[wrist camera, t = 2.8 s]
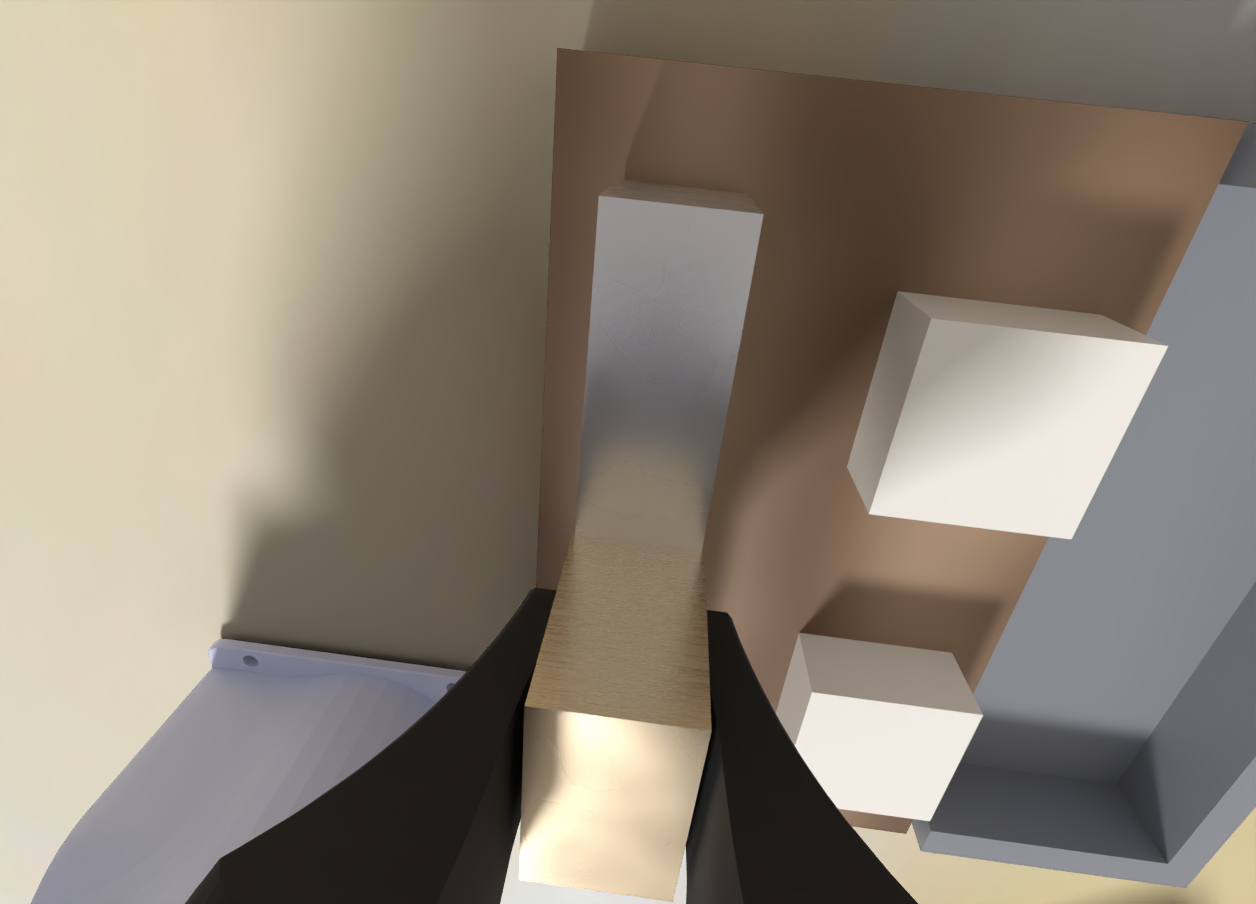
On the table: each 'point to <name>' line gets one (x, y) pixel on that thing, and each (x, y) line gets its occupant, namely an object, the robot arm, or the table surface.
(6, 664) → the table surface
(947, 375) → the tile
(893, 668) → the tile
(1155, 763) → the box
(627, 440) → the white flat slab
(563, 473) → the board
